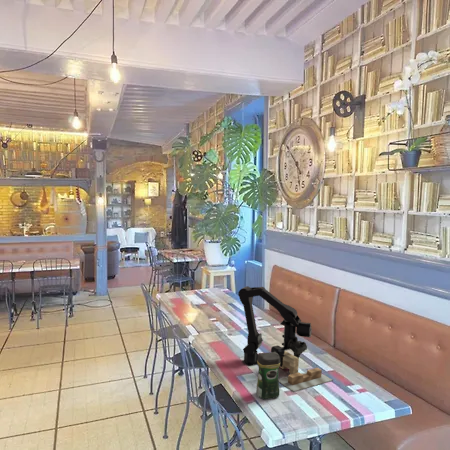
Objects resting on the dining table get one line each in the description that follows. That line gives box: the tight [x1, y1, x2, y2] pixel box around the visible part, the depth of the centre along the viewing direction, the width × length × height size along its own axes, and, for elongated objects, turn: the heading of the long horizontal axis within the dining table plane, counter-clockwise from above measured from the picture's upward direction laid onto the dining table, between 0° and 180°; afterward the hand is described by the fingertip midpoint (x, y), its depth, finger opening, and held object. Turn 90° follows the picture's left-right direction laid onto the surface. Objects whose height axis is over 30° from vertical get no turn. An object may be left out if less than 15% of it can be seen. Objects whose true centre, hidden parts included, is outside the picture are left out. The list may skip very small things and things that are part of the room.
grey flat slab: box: [278, 367, 334, 393], centre depth 175 cm, size 24×12×4 cm, turn 120°
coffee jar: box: [255, 351, 280, 400], centre depth 160 cm, size 10×8×19 cm
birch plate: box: [279, 351, 300, 375], centre depth 185 cm, size 3×11×8 cm, turn 30°
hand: (288, 364), depth 185 cm, fingers open, 9 cm apart
